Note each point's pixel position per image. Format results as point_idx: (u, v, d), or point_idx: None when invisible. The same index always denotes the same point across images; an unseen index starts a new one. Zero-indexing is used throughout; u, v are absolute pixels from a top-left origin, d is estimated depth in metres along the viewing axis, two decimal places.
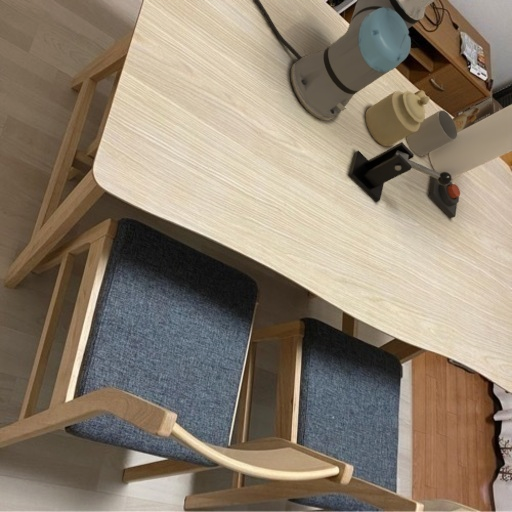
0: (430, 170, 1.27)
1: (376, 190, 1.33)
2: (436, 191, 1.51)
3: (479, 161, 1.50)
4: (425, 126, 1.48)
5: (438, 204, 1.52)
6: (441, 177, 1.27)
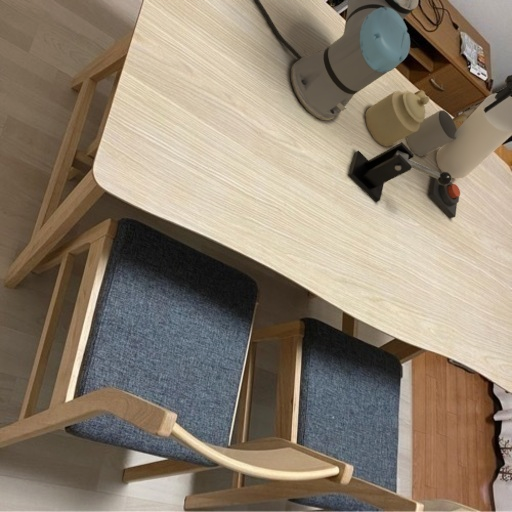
0: (430, 170, 1.27)
1: (376, 190, 1.33)
2: (436, 191, 1.51)
3: (476, 158, 1.48)
4: (425, 126, 1.48)
5: (438, 204, 1.52)
6: (441, 177, 1.27)
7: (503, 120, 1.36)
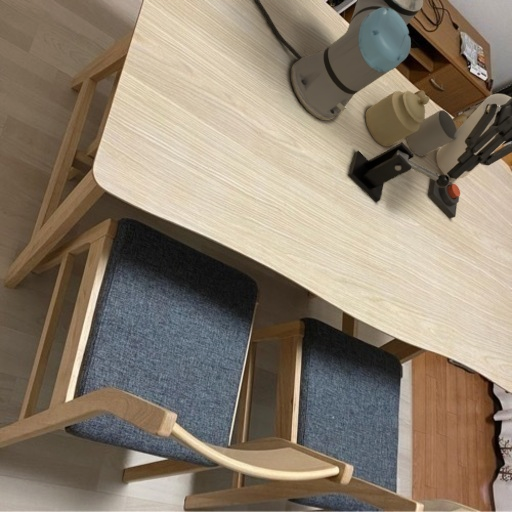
0: (428, 171, 1.27)
1: (376, 190, 1.33)
2: (436, 191, 1.51)
3: None
4: (425, 126, 1.48)
5: (438, 204, 1.52)
6: (439, 179, 1.27)
7: None
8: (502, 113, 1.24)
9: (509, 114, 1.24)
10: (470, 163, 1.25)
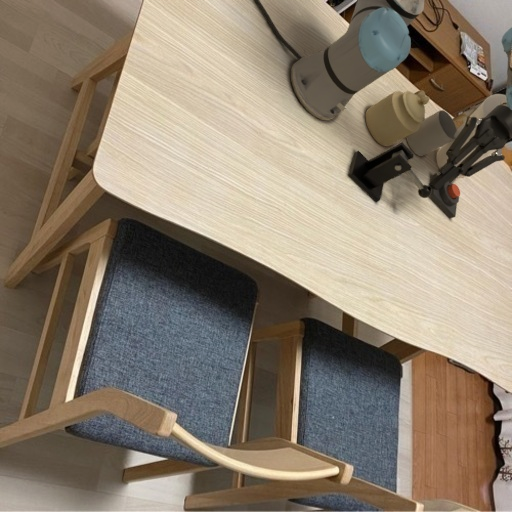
0: (418, 179, 1.30)
1: (376, 190, 1.33)
2: (436, 191, 1.51)
3: None
4: (425, 126, 1.48)
5: (438, 204, 1.52)
6: (424, 190, 1.31)
7: None
8: (482, 126, 1.28)
9: (489, 127, 1.28)
10: (451, 174, 1.29)
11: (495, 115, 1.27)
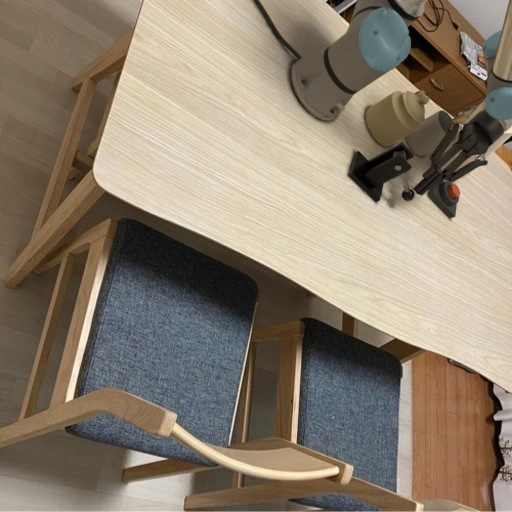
0: (407, 182, 1.32)
1: (376, 190, 1.33)
2: (436, 191, 1.51)
3: None
4: (425, 126, 1.48)
5: (438, 204, 1.52)
6: (409, 193, 1.33)
7: None
8: (464, 132, 1.30)
9: (471, 133, 1.31)
10: (435, 180, 1.32)
11: (477, 121, 1.30)
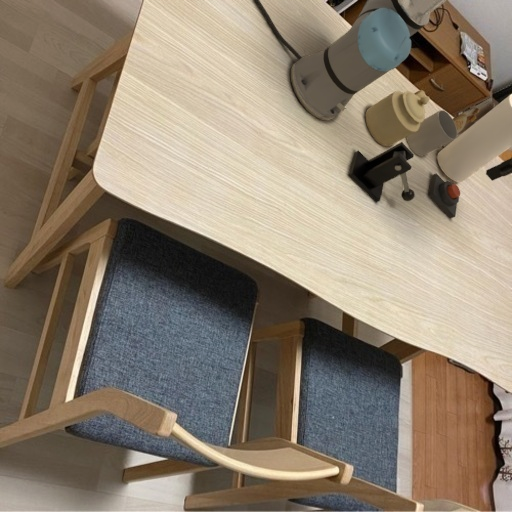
0: (407, 182, 1.32)
1: (376, 190, 1.33)
2: (436, 191, 1.51)
3: (489, 158, 1.51)
4: (426, 126, 1.48)
5: (438, 204, 1.52)
6: (409, 193, 1.33)
7: None
8: None
9: None
10: (503, 165, 1.41)
11: None
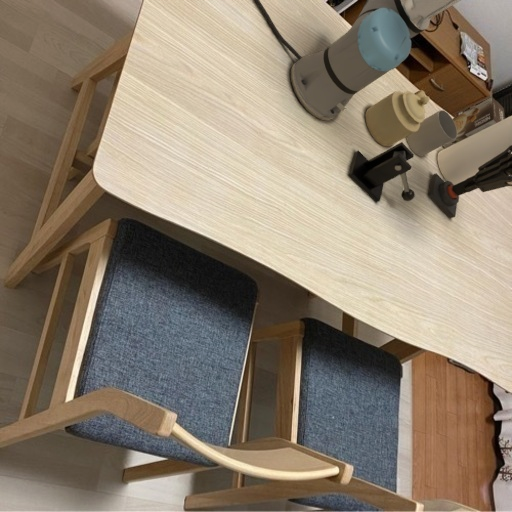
0: (407, 182, 1.32)
1: (376, 190, 1.33)
2: (436, 191, 1.51)
3: None
4: (425, 126, 1.48)
5: (438, 204, 1.52)
6: (409, 193, 1.33)
7: None
8: None
9: None
10: (467, 181, 1.48)
11: None
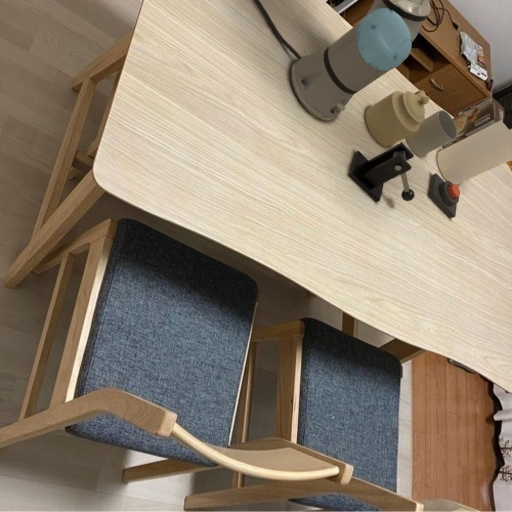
0: (407, 182, 1.32)
1: (376, 190, 1.33)
2: (436, 191, 1.51)
3: (489, 167, 1.53)
4: (426, 126, 1.48)
5: (438, 204, 1.52)
6: (409, 193, 1.33)
7: None
8: None
9: None
10: None
11: None
